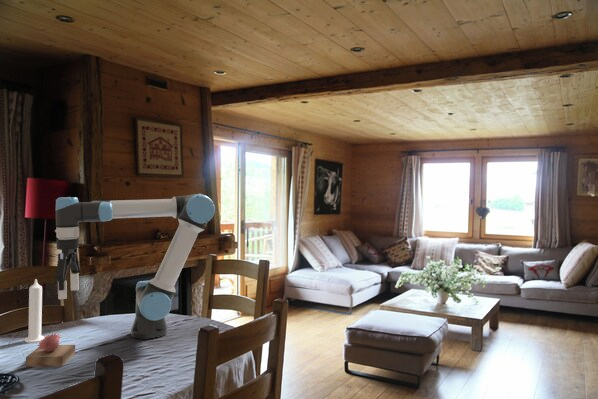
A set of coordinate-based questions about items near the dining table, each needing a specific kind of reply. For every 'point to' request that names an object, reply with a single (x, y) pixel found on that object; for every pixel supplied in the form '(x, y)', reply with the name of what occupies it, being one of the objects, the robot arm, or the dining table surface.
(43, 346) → the flower
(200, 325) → the dining table surface
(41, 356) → the walnut base
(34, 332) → the candle
